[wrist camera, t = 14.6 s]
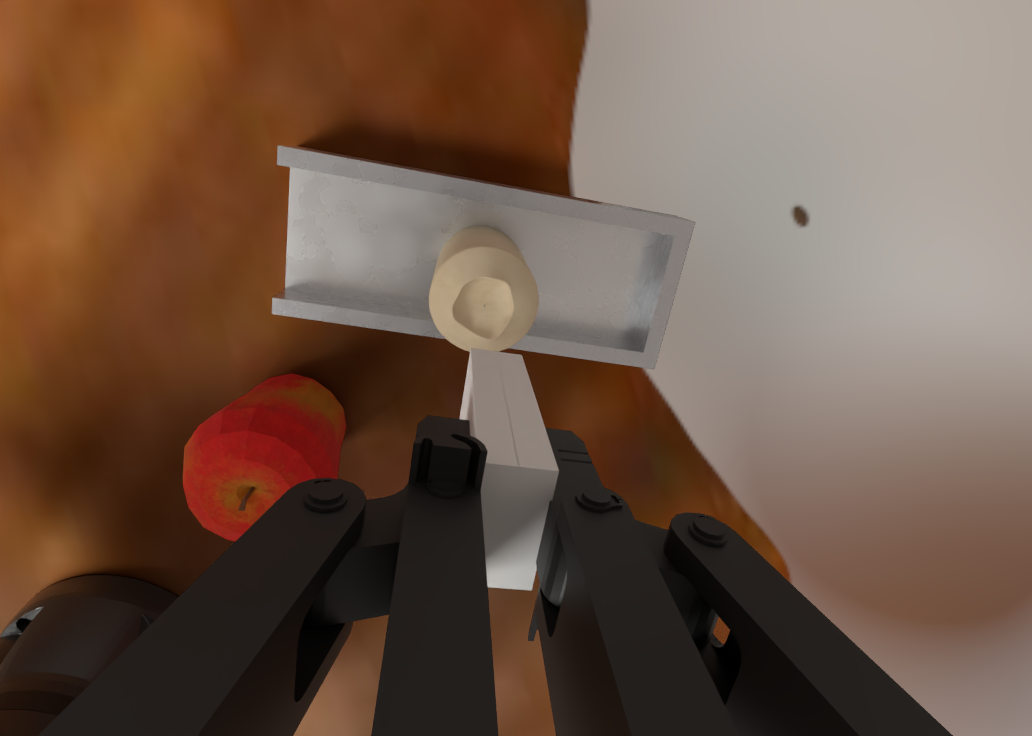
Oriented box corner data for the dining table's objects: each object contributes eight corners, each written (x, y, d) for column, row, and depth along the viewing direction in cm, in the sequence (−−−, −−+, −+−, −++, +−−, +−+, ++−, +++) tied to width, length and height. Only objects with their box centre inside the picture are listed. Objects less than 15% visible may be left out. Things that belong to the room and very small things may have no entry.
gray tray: (289, 298, 37) (271, 314, 34) (296, 146, 34) (277, 145, 31) (638, 350, 41) (654, 369, 37) (674, 215, 38) (695, 221, 34)
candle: (528, 304, 38) (548, 354, 28) (445, 316, 37) (437, 371, 28) (517, 219, 36) (535, 243, 26) (430, 231, 35) (416, 260, 26)
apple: (248, 341, 38) (160, 418, 27) (373, 375, 40) (337, 461, 29) (227, 450, 41) (139, 560, 30) (345, 478, 42) (302, 593, 31)
